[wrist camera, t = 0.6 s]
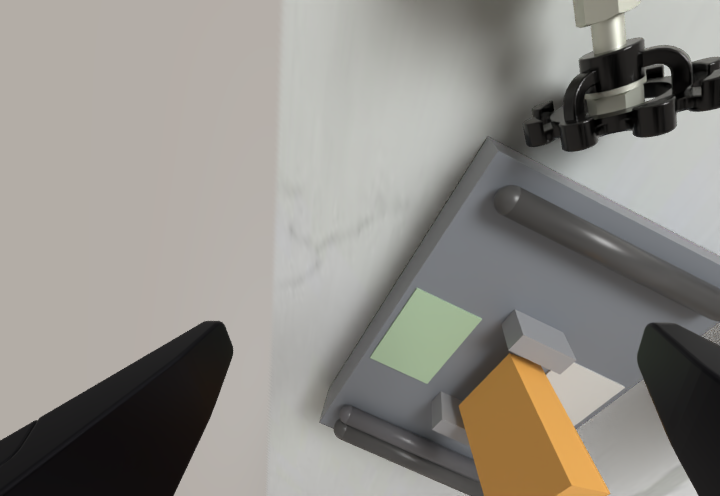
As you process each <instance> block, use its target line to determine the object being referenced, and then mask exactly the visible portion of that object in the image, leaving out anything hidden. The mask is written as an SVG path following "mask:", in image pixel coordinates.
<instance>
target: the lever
mask: <svg viewBox="0 0 720 496" xmlns="http://www.w3.org/2000/svg"><path fill="white" fill-rule="evenodd" d="M459 409H460V413H461V416H462V420H463V423H464V427H465V430H466V434H467V437H468V441H469V445H470V448H471V452H472V455H473V459H474V462H475V466H476V469H477V473H478V476H479V480H480V483H481V487H482V491H483V494H484V496H607V495H609V494H610V492H609V490H608V488H607V486H606V484H605V483H604V481H603V479H602V477H601V475H600V473H599V472H598V470H597V468H596V466H595V464H594V462H593V461H592V459H591V457H590V455H589V453H588V451H587V450H586V448H585V446H584V444H583V442H582V440H581V439H580V437H579V435H578V433H577V431H576V429H575V427H574V426H573V424H572V422H571V420H570V418H569V416H568V415H567V413H566V411H565V409H564V407H563V405H562V404H561V402H560V400H559V398H558V396H557V394H556V393H555V391H554V389H553V387H552V385H551V383H550V382H549V380H548V378H547V376H546V374H545V372H544V370H543V369H542V367H541V365H538V364H536V363H534V362H532V361H530V360H528V359H526V358H523V357H520V356H516V355H513V354H510V353H509V354H508V355H507V356H506V357H505V358H504V359H503V360H502V361H501V362H500V364H499V365H498V366H497V367H496V368H495V369H494V370H493V371H492V372H491V373H490V374H489V375H488V376H487V377H486V378H485V379H484V380H483V381H482V382H481V383H480V384H479V385H478V386H477V387H476V388H475V389H474V390H473V391H472V392H471V393H470V394H469V395H468V396H467V397H466V398H465V400H464V401H463V402H462V403H461V404H460V405H459Z"/></svg>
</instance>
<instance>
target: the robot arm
mask: <svg viewBox="0 0 720 496" xmlns="http://www.w3.org/2000/svg"><path fill="white" fill-rule="evenodd" d="M232 356H233V346H232V343H231V341H230V338H229V335H228V332H227V330H226V327H225V325H224V324H223V323H222V322H220V321H205V322H203V323H201V324H199V325H198V326H196V327H194V328H192V329H191V330H189V331H187V332H185V333H184V334H182V335H180V336H179V337H177V338H175V339H173V340H172V341H170V342H169V343H167V344H165V345H163V346H162V347H160V348H158V349H156V350H155V351H153V352H151V353H150V354H148V355H146V356H144V357H143V358H141V359H140V360H138V361H136V362H134V363H133V364H131V365H129V366H127V367H126V368H124V369H122V370H120V371H119V372H117V373H116V374H114V375H112V376H110V377H109V378H107V379H105V380H103V381H102V382H100V383H98V384H97V385H95V386H93V387H92V388H90V389H88V390H87V391H85V392H83V393H81V394H79V395H78V396H76V397H74V398H73V399H71V400H69V401H68V402H66V403H64V404H62V405H61V406H59V407H57V408H56V409H54V410H52V411H50V412H49V413H47V414H45V415H44V416H42V417H40V418H39V420H38V421H37V420H36V421H33V422H31V423H30V424H28V425H26V426H25V427H23V428H21V429H19V430H18V431H16V432H14V433H13V434H11V435H9V436H7V437H6V438H4V439H2V440H0V496H174V493H175V491H176V489H177V487H178V485H179V483H180V481H181V479H182V476H183V474H184V472H185V470H186V468H187V466H188V464H189V462H190V459H191V457H192V455H193V453H194V451H195V449H196V447H197V445H198V443H199V441H200V438H201V436H202V434H203V432H204V430H205V428H206V425H207V423H208V421H209V419H210V417H211V414H212V411H213V409H214V406H215V404H216V401H217V398H218V396H219V393H220V390H221V387H222V384H223V382H224V379H225V376H226V373H227V370H228V368H229V365H230V362H231V359H232ZM637 363H638V367H639V369H640V372H641V374H642V376H643V379H644V381H645V384H646V386H647V389H648V391H649V393H650V396H651V398H652V401H653V403H654V405H655V408H656V410H657V413H658V415H659V418H660V420H661V422H662V425H663V427H664V430H665V432H666V434H667V436H668V439H669V441H670V443H671V445H672V447H673V449H674V451H675V453H676V455H677V457H678V459H679V461H680V462H681V464H682V466H683V468H684V470H685V472H686V473H687V475H688V477H689V479H690V481H691V483H692V484H693V486H694V488H695V490H696V492H697V494H698V495H699V496H720V346H719V345H717V344H715V343H713V342H711V341H709V340H707V339H705V338H703V337H702V336H700V335H698V334H696V333H694V332H692V331H690V330H688V329H686V328H684V327H682V326H680V325H678V324H676V323H671V322H652V323H649V324H647V325H646V327H645V329H644V332H643V336H642V339H641V343H640V346H639V349H638V353H637Z"/></svg>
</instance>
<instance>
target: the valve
mask: <svg viewBox="0 0 720 496" xmlns="http://www.w3.org/2000/svg"><path fill="white" fill-rule="evenodd" d="M639 4H640V0H573V5H574V13H575V21H576V26H577V27H579V28H582V27H586V26H590V25H591V34H592V43H593V51H592V52H590V53H588V54H586V55H584V56H582V57H581V58H580V59H579V68H580V74H579V75H577V76H576V77H575V78H574V79H573V80H572V81H571V83H570V84H569V86H568V88H567V90H566V93H565V96H564V101H563V106H562V107H560V108H558V109H557V110H554V106H553V101H549V102H545V103H542V104H539V105H537V106H535V107H534V108H532V115H533V117H532V118H530V119H528V120H526V121H524V122H523V128H524V133H525V139H526V144H527V146H529V147H537V146H542V145H545V144H548V143H550V142H552V141H554V140H555V139H556V138H561V145H562V149H563V150H564V151H568V152H574V151H580V150H584V149H587V148H590V147H592V146H594V145H595V144H596V143H597V142H598V138H599V137H601V136H603V135H607V134H611V133H616V132H621V131H633V135H634V136H636V137H653V136H658V135H662V134H665V133H668V132H670V131H672V130H673V129H675V128H676V126H677V114H676V113H677V112H680V111H684V110H689V111H693V112H700V111H708V110H713V109H717V108H720V57H711V58H705V59H701V60H697V61H694V62H691V59H690V57H689V56H688V54H687V53H686V52H684V51H683V50H681V49H680V48H677V47H674V46H669V45H659V46H654V47H650V48H646V49H645V45H644V39H643V38H633V39H628V40H626V30H625V17H624V13H625V12H627V11H629V10H631V9H633V8H635V7H636V6H637V5H639ZM655 64H658V65H655ZM662 64H664V65H666V66H668V67H669V68H670V70H671V76H666V77H664V65H662ZM651 65H652V66H651ZM647 66H648V67H647ZM645 98H654V99H652V100H649V101H647V102H645ZM586 113H588V114H589V116H586Z"/></svg>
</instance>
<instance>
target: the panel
mask: <svg viewBox="0 0 720 496" xmlns="http://www.w3.org/2000/svg"><path fill="white" fill-rule="evenodd" d="M652 322H671V323H676V324H678V325H680V326H682V327H684V328H686V329H688V330H690V331H692V332H694V333H696V334H698V335H700V336H701V335H703V334H704V333H705V332H707V331H708V330H709V329H711V328H712V327H713V326H715V325H716V324H717V323H719V322H720V256H718V255H716V254H714V253H712V252H711V251H709V250H707V249H705V248H703V247H701V246H699V245H697V244H695V243H693V242H691V241H689V240H687V239H685V238H683V237H681V236H680V235H678V234H676V233H674V232H672V231H670V230H668V229H666V228H664V227H662V226H660V225H658V224H656V223H654V222H652V221H650V220H649V219H647V218H645V217H643V216H641V215H639V214H637V213H635V212H633V211H631V210H629V209H627V208H625V207H623V206H621V205H619V204H618V203H616V202H614V201H612V200H610V199H608V198H606V197H604V196H602V195H600V194H598V193H596V192H594V191H592V190H590V189H588V188H587V187H585V186H583V185H581V184H579V183H577V182H575V181H573V180H571V179H569V178H567V177H565V176H563V175H561V174H559V173H557V172H556V171H554V170H552V169H550V168H548V167H546V166H544V165H542V164H540V163H538V162H536V161H534V160H532V159H530V158H528V157H527V156H525V155H523V154H521V153H519V152H517V151H515V150H513V149H511V148H509V147H507V146H505V145H503V144H501V143H499V142H497V141H496V140H494V139H492V138H490V137H487V139H486V140H485V142H484V144H483V145H482V147H481V148H480V150H479V152H478V153H477V155H476V156H475V158H474V160H473V161H472V163H471V164H470V166H469V167H468V169H467V171H466V172H465V174H464V175H463V177H462V179H461V180H460V182H459V183H458V185H457V186H456V188H455V190H454V191H453V193H452V194H451V196H450V198H449V199H448V201H447V202H446V204H445V206H444V207H443V209H442V210H441V212H440V213H439V215H438V217H437V218H436V220H435V221H434V223H433V225H432V226H431V228H430V229H429V231H428V233H427V234H426V236H425V237H424V239H423V240H422V242H421V244H420V245H419V247H418V248H417V250H416V252H415V253H414V255H413V256H412V258H411V260H410V261H409V263H408V264H407V266H406V267H405V269H404V271H403V272H402V274H401V275H400V277H399V279H398V280H397V282H396V283H395V285H394V287H393V288H392V290H391V291H390V293H389V294H388V296H387V298H386V299H385V301H384V302H383V304H382V306H381V307H380V309H379V310H378V312H377V313H376V315H375V317H374V318H373V320H372V321H371V323H370V325H369V326H368V328H367V329H366V331H365V333H364V334H363V336H362V337H361V339H360V340H359V342H358V344H357V345H356V347H355V348H354V350H353V352H352V353H351V355H350V356H349V358H348V360H347V361H346V363H345V364H344V366H343V367H342V369H341V371H340V372H339V374H338V375H337V377H336V379H335V380H334V382H333V383H332V385H331V387H330V388H329V390H328V394H327V397H326V401H325V404H324V408H323V411H322V415H321V418H320V422H319V423H322V424H324V425H326V426H329V427H331V428H333V429H334V433H335V435H336V436H337V437H338V438H339V439H341V440H343V441H346V442H348V443H350V444H353V445H355V446H357V447H359V448H362V449H364V450H366V451H369V452H371V453H373V454H376V455H378V456H380V457H382V458H385V459H387V460H389V461H392V462H394V463H396V464H398V465H401V466H403V467H405V468H408V469H410V470H412V471H415V472H417V473H419V474H421V475H424V476H426V477H428V478H431V479H433V480H435V481H437V482H440V483H442V484H444V485H447V486H449V487H451V488H454V489H456V490H458V491H460V492H463V493H465V494H467V495H470V496H484V494H483V491H482V487H481V483H480V480H479V476H478V473H477V469H476V466H475V462H474V459H473V455H472V452H471V448H470V445H469V441H468V437H467V434H466V430H465V427H464V423H463V420H462V416H461V413H460V409H459V405H460V404H461V403H462V402H463V401H464V400H465V398H466V397H467V396H468V395H469V394H470V393H471V392H472V391H473V390H474V389H475V388H476V387H477V386H478V385H479V384H480V383H481V382H482V381H483V380H484V379H485V378H486V377H487V376H488V375H489V374H490V373H491V372H492V371H493V370H494V369H495V368H496V367H497V366H498V365H499V364H500V362H501V361H502V360H503V359H504V358H505V357H506V356H507V355H508V354H509V353H510V354H513V355H516V356H520V357H523V358H526V359H528V360H530V361H532V362H534V363H536V364H538V365H541V367H542V369H543V370H544V372H545V374H546V376H547V378H548V380H549V382H550V383H551V385H552V387H553V389H554V391H555V393H556V394H557V396H558V398H559V400H560V402H561V404H562V405H563V407H564V409H565V411H566V413H567V415H568V416H569V418H570V420H571V422H572V424H573V426H574V427H575V429H577V428H578V427H580V426H581V425H582V424H584V423H585V422H586V421H588V420H589V419H590V418H592V417H593V416H594V415H596V414H597V413H598V412H600V411H601V410H602V409H604V408H605V407H606V406H608V405H609V404H610V403H612V402H613V401H614V400H616V399H617V398H618V397H620V396H621V395H622V394H624V393H625V392H626V391H628V390H629V389H630V388H632V387H633V386H635V385H636V384H637V383H639V382H640V381H641V380H643V376H642V374H641V372H640V369H639V367H638V363H637V353H638V349H639V346H640V343H641V339H642V336H643V332H644V329H645V327H646V325H647V324H649V323H652Z"/></svg>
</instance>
